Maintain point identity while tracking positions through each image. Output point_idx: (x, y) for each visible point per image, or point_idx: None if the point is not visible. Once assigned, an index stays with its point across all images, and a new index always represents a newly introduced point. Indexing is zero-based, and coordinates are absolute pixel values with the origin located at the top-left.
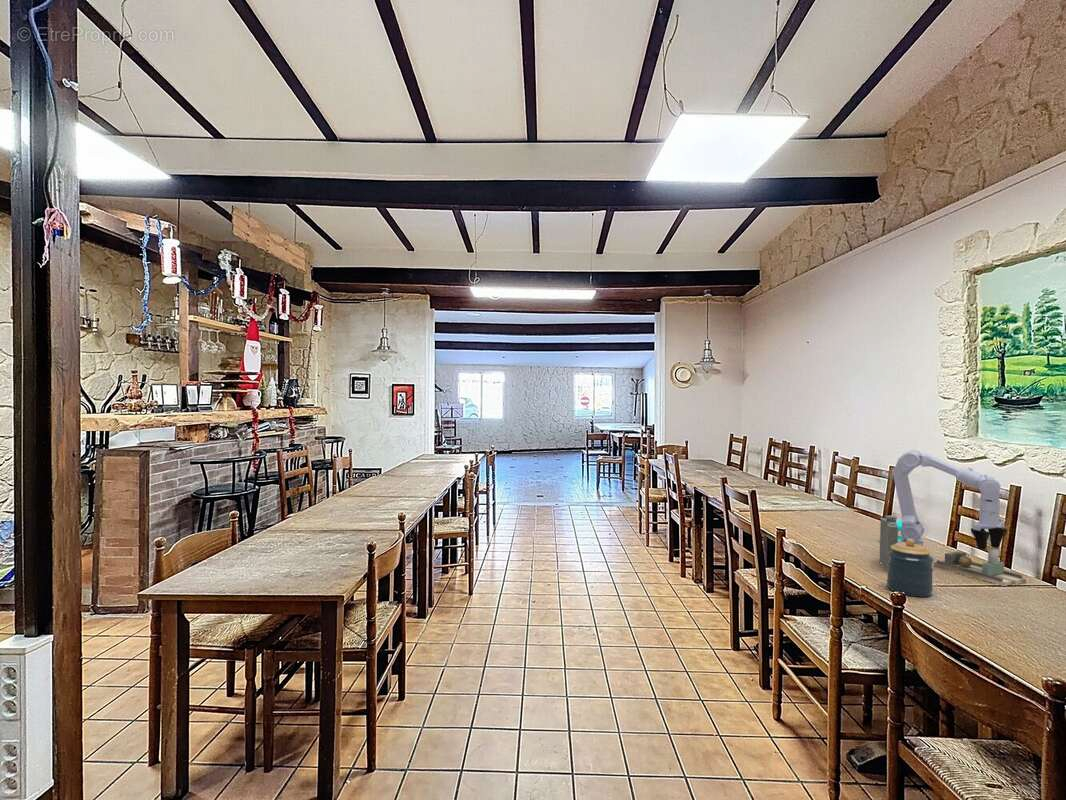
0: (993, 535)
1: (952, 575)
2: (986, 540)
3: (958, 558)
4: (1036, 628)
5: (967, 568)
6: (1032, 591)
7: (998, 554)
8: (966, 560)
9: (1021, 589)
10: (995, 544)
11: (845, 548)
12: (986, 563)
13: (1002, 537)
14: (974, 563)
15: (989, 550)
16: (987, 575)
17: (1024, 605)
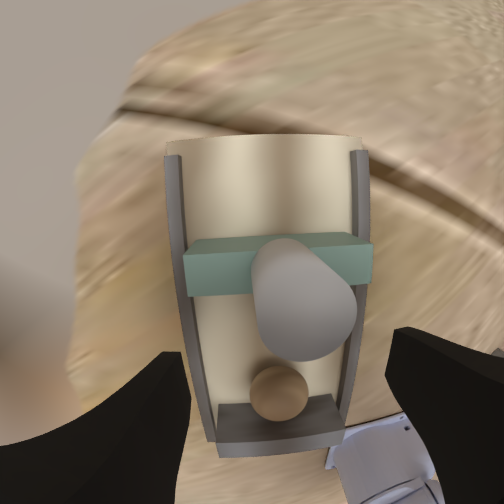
0: (161, 493)
1: (396, 324)
2: (481, 362)
3: (277, 422)
4: (501, 15)
5: None
6: (282, 59)
7: (293, 257)
8: (302, 386)
9: (305, 90)
10: (179, 392)
11: None
12: (346, 274)
13: (82, 420)
14: (204, 385)
15: (348, 323)
16: (368, 221)
17: (449, 35)
